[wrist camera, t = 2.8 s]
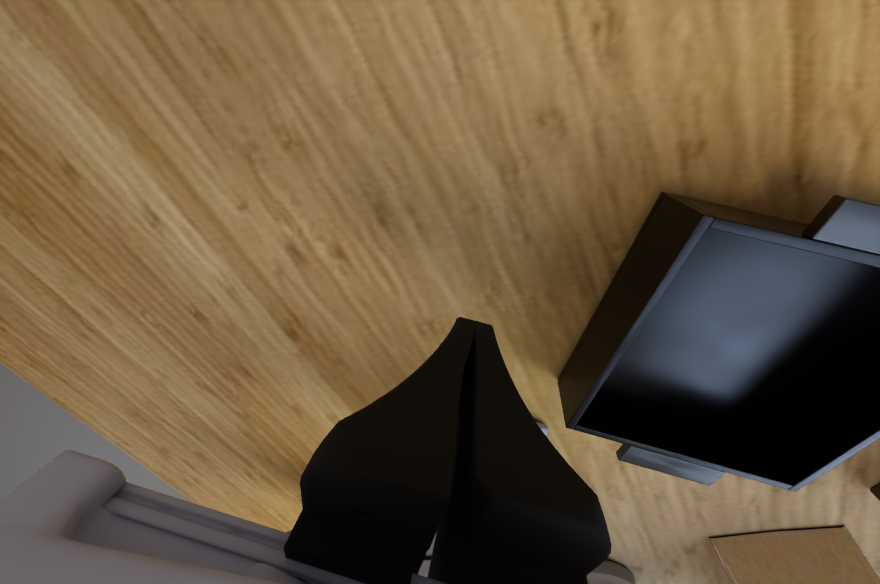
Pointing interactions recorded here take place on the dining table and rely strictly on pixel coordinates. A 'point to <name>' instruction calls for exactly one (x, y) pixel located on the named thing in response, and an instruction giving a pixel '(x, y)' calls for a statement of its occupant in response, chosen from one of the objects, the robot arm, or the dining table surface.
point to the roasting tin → (736, 344)
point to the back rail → (876, 491)
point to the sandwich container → (795, 558)
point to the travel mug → (610, 574)
